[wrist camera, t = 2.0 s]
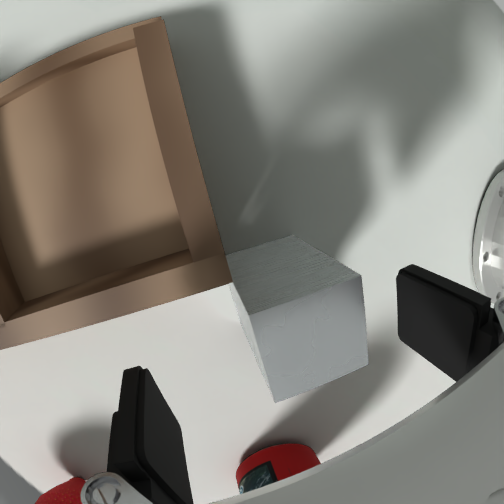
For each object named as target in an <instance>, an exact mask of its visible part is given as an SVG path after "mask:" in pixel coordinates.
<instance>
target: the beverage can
mask: <svg viewBox="0 0 504 504" xmlns="http://www.w3.org/2000/svg"><path fill="white" fill-rule="evenodd" d="M319 464H321V463H320V461H319V460H318V458H317V456H316V454H315V452H314V451H313V450H312V449H311V448H310V447H308V446H305V445H302V444H280V445H274V446H270V447H267V448H264V449H262V450H260V451H258V452H256V453H254V454H253V455H251V456H249V457H248V458H247V459H245V460H244V461H243V462H242V463H241V464H240V466H239V467H238V469H237V471H236V479H237V484H238V488H239V492H240V494H243V493H246V492H249V491H252V490H255V489H258V488H261V487H264V486H267V485H269V484H272V483H275V482H278V481H280V480H283V479H286V478H288V477H291V476H293V475H296V474H298V473H301V472H303V471H306V470H308V469H310V468H313V467H315V466H317V465H319Z"/></svg>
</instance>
